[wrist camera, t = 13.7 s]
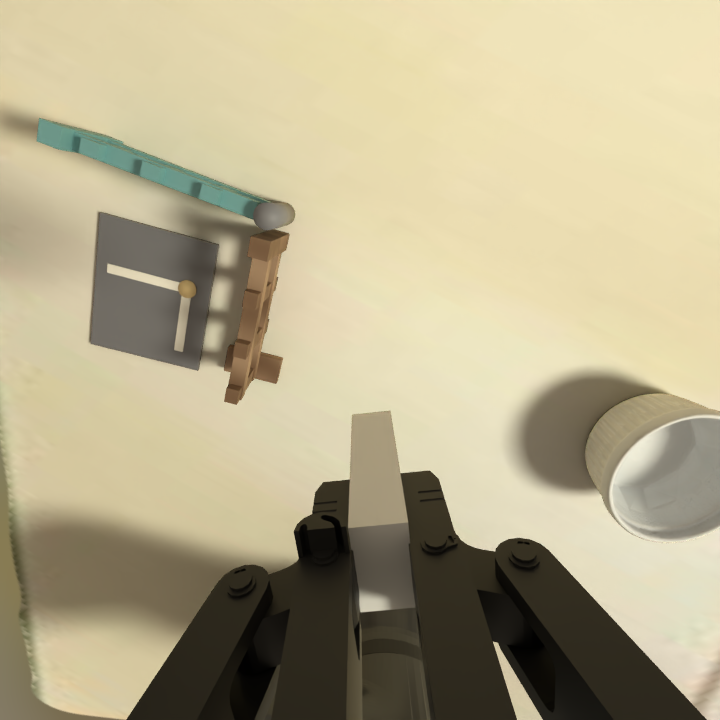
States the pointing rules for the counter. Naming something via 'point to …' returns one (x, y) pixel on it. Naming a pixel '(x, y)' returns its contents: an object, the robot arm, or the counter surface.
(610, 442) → the ramekin
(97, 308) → the card
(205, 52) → the counter surface
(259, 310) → the fence
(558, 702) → the robot arm
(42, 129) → the fence
